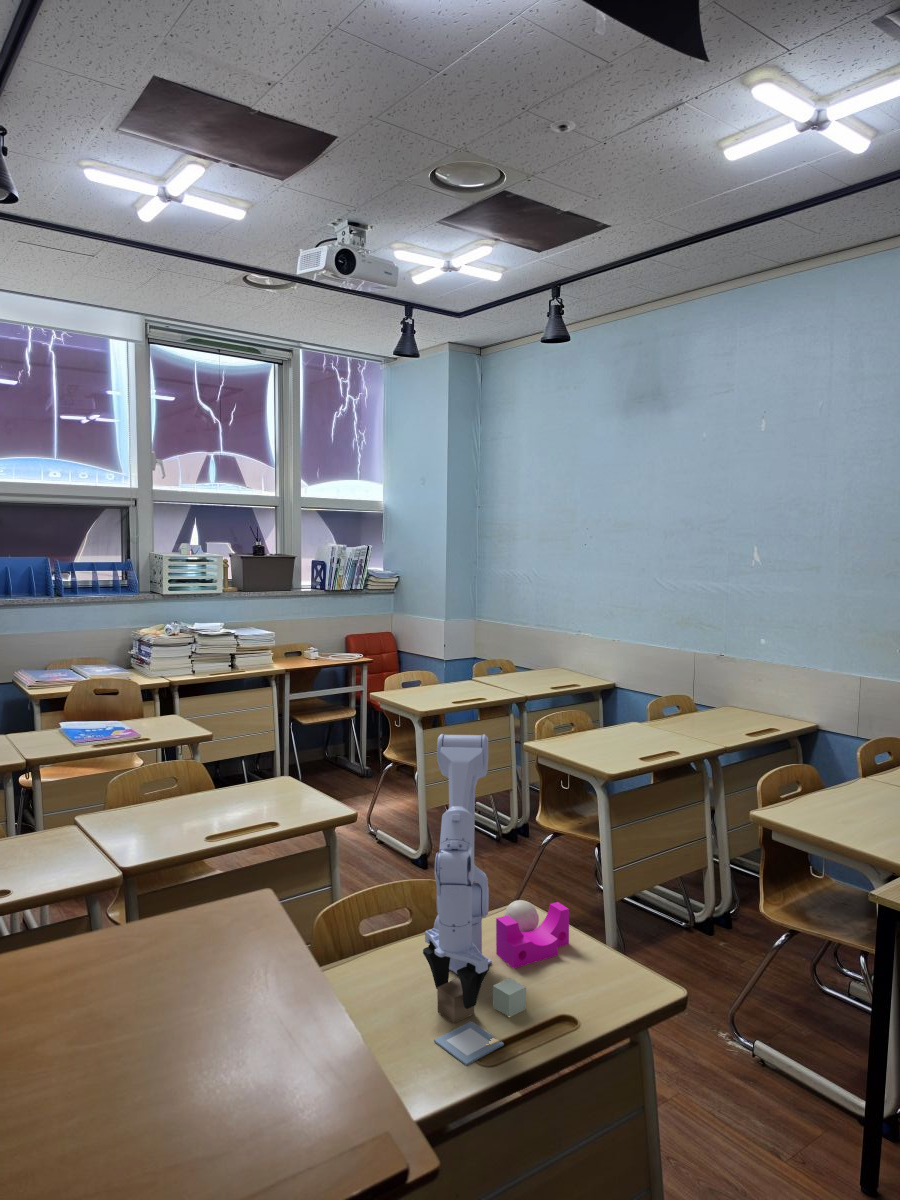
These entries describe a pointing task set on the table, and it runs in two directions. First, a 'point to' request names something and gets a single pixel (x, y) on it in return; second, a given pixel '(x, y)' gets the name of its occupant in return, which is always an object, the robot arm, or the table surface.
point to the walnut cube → (452, 1001)
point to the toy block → (532, 937)
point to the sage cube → (509, 997)
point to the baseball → (523, 915)
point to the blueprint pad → (468, 1043)
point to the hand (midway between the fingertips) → (455, 996)
